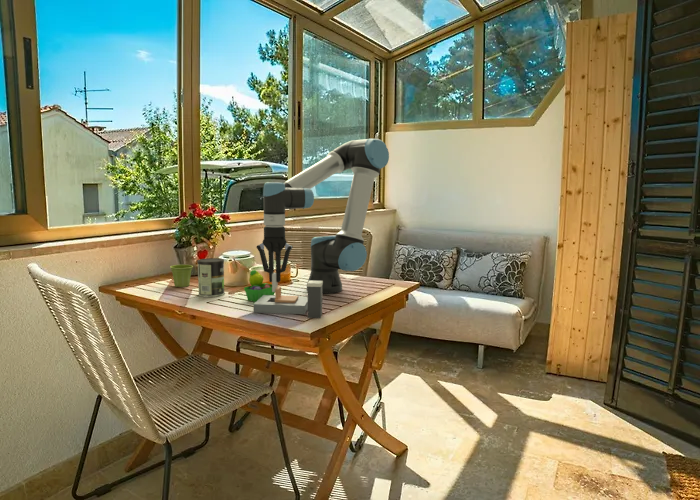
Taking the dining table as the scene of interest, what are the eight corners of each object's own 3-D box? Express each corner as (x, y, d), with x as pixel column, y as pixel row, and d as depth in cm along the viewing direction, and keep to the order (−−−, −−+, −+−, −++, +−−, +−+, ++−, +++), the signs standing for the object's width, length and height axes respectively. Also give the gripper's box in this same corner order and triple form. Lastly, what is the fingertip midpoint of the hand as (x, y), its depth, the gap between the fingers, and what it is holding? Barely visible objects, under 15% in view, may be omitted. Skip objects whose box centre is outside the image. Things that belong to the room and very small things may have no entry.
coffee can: (225, 291, 207) (224, 257, 205) (224, 296, 197) (223, 261, 195) (199, 292, 205) (198, 258, 203) (197, 297, 195) (196, 262, 193)
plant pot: (189, 282, 222) (188, 263, 221) (196, 286, 215) (196, 266, 214) (167, 285, 217) (167, 265, 216) (175, 289, 209) (174, 268, 208)
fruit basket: (257, 303, 187) (256, 274, 186) (240, 300, 192) (240, 271, 191) (278, 298, 196) (277, 269, 195) (261, 294, 202) (261, 267, 200)
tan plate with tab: (279, 297, 184) (279, 285, 183) (298, 298, 183) (298, 286, 183) (274, 302, 177) (274, 290, 176) (294, 302, 176) (294, 290, 176)
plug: (309, 314, 173) (309, 280, 172) (322, 314, 173) (322, 280, 171) (307, 317, 169) (307, 283, 167) (320, 318, 168) (321, 283, 167)
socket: (263, 302, 188) (263, 295, 188) (310, 304, 187) (310, 296, 187) (253, 312, 174) (253, 304, 174) (304, 314, 173) (304, 305, 173)
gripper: (253, 226, 174) (254, 292, 177) (290, 227, 173) (290, 293, 176) (259, 224, 181) (260, 288, 184) (294, 225, 180) (294, 289, 183)
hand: (275, 290), depth 180 cm, fingers closed
